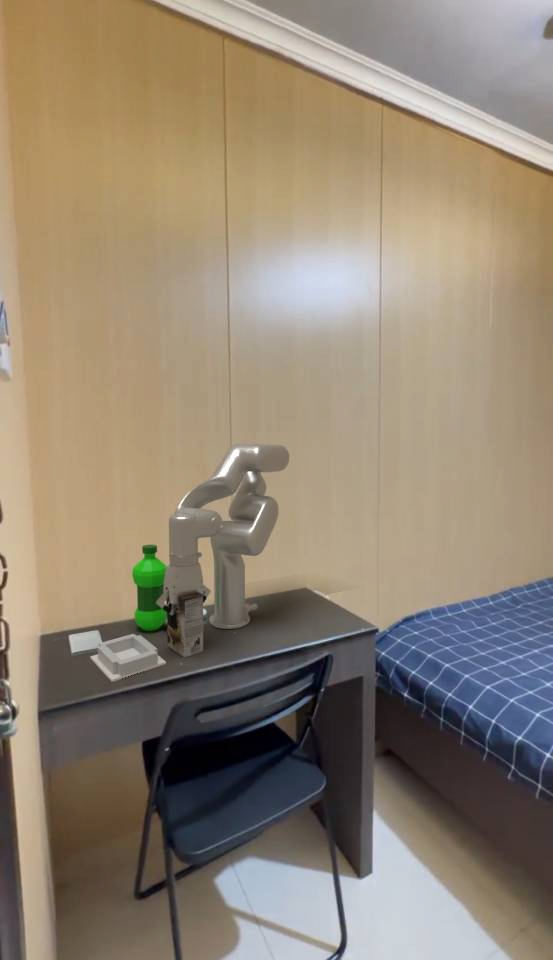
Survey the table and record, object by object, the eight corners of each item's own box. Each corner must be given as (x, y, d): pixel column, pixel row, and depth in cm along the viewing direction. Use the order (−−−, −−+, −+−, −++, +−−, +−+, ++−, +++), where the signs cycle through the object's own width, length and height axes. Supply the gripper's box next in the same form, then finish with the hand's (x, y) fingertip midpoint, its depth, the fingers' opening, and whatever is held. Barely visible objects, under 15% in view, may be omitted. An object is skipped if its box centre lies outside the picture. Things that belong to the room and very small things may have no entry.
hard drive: (104, 646, 131) (98, 629, 142) (71, 652, 127) (68, 634, 138) (104, 652, 131) (98, 634, 142) (71, 658, 127) (68, 640, 139)
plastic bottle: (128, 626, 147) (125, 545, 144) (160, 618, 153) (158, 540, 151) (141, 637, 139) (139, 552, 136) (175, 628, 146) (173, 547, 143)
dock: (141, 643, 135) (140, 631, 135) (166, 664, 124) (165, 650, 123) (90, 658, 126) (89, 645, 126) (111, 682, 115) (111, 667, 114)
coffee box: (166, 646, 133) (165, 590, 132) (186, 639, 138) (185, 584, 136) (183, 658, 127) (182, 599, 125) (204, 650, 131) (203, 593, 129)
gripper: (204, 551, 138) (205, 612, 140) (147, 562, 127) (148, 627, 129) (218, 557, 132) (219, 620, 134) (160, 568, 121) (161, 637, 123)
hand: (184, 623), depth 131 cm, fingers closed on coffee box, 6 cm apart
